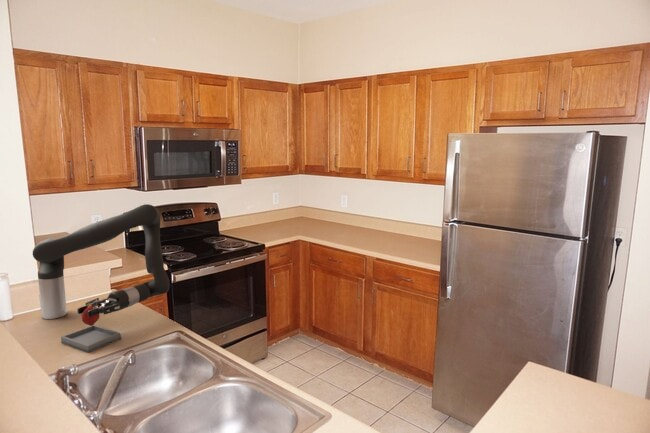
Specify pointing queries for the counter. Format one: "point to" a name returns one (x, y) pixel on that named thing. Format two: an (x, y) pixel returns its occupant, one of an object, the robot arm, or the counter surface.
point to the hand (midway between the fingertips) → (83, 312)
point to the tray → (90, 338)
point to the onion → (89, 320)
